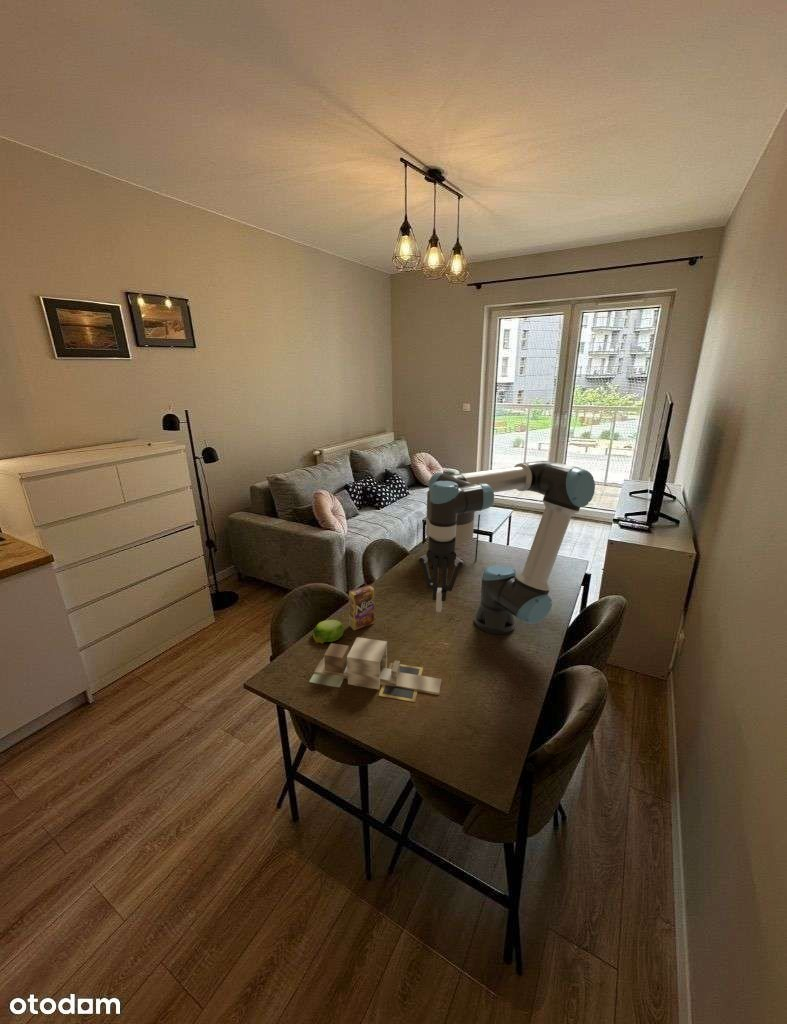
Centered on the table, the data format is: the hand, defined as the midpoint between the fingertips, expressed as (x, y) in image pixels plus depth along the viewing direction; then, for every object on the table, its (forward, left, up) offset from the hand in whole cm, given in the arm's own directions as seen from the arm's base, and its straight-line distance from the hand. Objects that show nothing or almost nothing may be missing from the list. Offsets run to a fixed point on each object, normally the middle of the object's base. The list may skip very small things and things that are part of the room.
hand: (438, 609), depth 124 cm
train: (+23, +5, -24) cm, 33 cm away
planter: (+5, -85, -25) cm, 89 cm away
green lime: (+41, -12, -25) cm, 49 cm away
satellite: (+18, +5, -24) cm, 31 cm away
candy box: (+31, -21, -25) cm, 45 cm away
